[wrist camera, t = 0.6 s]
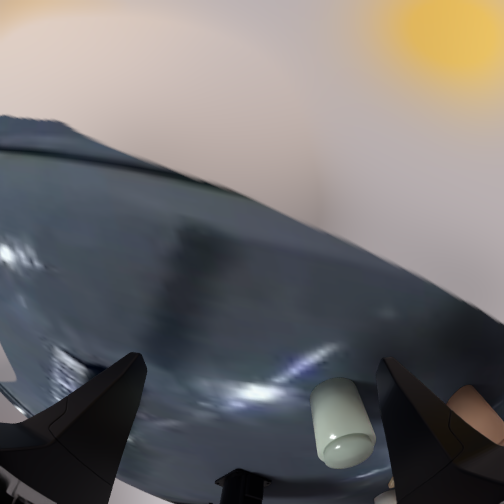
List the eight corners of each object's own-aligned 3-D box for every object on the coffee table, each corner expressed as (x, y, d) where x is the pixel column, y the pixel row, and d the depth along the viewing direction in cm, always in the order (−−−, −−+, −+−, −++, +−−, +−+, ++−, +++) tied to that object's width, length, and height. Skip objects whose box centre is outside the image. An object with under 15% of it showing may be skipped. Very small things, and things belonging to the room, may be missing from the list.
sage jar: (333, 418, 27) (346, 475, 18) (299, 401, 26) (305, 463, 18) (366, 389, 26) (390, 444, 17) (333, 369, 25) (352, 430, 17)
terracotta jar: (453, 416, 26) (488, 470, 14) (439, 408, 26) (478, 468, 13) (477, 390, 25) (519, 440, 13) (466, 380, 25) (512, 434, 12)
